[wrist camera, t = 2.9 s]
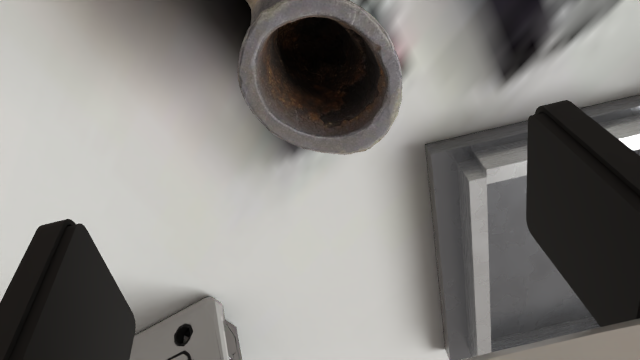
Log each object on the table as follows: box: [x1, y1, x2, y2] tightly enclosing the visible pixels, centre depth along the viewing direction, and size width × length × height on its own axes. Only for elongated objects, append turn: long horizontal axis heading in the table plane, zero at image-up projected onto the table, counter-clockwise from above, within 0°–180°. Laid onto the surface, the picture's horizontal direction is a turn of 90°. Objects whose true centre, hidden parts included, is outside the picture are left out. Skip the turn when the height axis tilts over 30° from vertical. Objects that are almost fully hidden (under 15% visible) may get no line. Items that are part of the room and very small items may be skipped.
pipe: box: [238, 0, 402, 155], centre depth 23 cm, size 6×13×8 cm, turn 38°
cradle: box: [425, 95, 640, 360], centre depth 36 cm, size 19×15×3 cm
